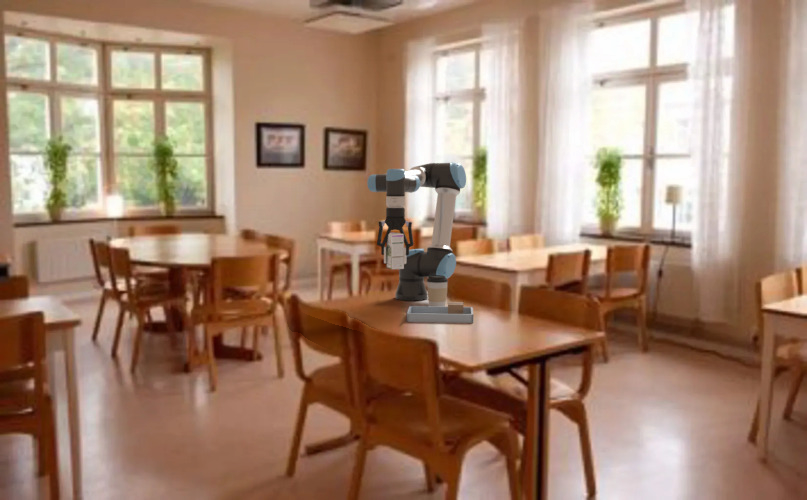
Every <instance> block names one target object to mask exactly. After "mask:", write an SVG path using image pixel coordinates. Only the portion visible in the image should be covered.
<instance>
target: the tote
mask: <svg viewBox="0 0 807 500" xmlns="http://www.w3.org/2000/svg"><path fill="white" fill-rule="evenodd" d="M406 322H407V323H446V324H448V323H453V324H457V323H458V324H474V307H473V306H463V314H448V306H445V307H442V306H429V305H428V306H427V305H425V306H424V305H409V307H408V309H407V311H406Z"/></svg>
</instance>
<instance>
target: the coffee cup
mask: <svg viewBox="0 0 807 500" xmlns="http://www.w3.org/2000/svg"><path fill="white" fill-rule="evenodd" d="M426 282H427V284H426V285H427V286H426V287H427V288H426V290H427V294H428V298H427V300H428V306H442V307H446V303H447V295H448V282H449V280H448V278H446V277H445V276H442V275H432V276H431V275H430V276H429V277H427V280H426Z"/></svg>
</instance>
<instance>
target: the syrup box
mask: <svg viewBox="0 0 807 500" xmlns="http://www.w3.org/2000/svg"><path fill="white" fill-rule="evenodd" d="M385 247H387V263H386V269H389V270H399V269H404V247H405V243H404V234H401V233H400V232H390V233H389V234H388V238H387V241H386V244H385Z"/></svg>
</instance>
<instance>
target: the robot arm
mask: <svg viewBox="0 0 807 500" xmlns="http://www.w3.org/2000/svg"><path fill="white" fill-rule="evenodd" d="M366 183H367V188H368V190H369V191H370V192H371V193H386V194H385V195H386V199H385V200H386V201H385V206H386V208H385V219H384V220H383V221H382V220H380V221H378V227H379V229H378V235H377V242H376V246H379V247H381V248H380V251H381V252H380V253H381V254H380V255H382V256H383V264H387V247H386V241H387V238H388V234H389V233H392V231H399V233H401V234H404V269H398V276H399V277H398V279H399V280H398V284H397V288H396V291H395V299H396V300H398V299H399V300H398V301H405V300H406V301H407V302H408V301H409V302H414V300H419V301H424V300H423V299H425V300H428V290H427V288H426V287H427V286H426V284H425V280H424V279H425V278H429V276H430V275H431V276H432V275H442V276H445V277H446V278H447V279H449V278H450V277H452V275H453V274H454V273H455V270H456V266H457V256H456V255H455V254H454V252H453V249H452V248H451V240H452V234H453V233H452V231H453V224H454V215H455V209H456V208H455V207H456V199H457V196H459V194H460V193H461V189H464V188H465V186H466V185H467V174H466V171H465V167H464V166H463V165H462V164H461V163H459V162H436V163H435V162H431V163H425V164H420V165H417V166H413V167H411V168H410V169H404V168H388V169H387V170H386V173H381V174H380V173H379V174H377V173H376V174H369V176H368V178H367V181H366ZM420 188H430V189H433V188H434V191H435V192H436V194H437V196H436V197H437V198H436V205H435V211H434V212H435V213H434V221H433V229H432V236H431V244H430V245H429V246H427V250H426V251H425V248H415V249H414V248H413V249H410V247H413V246H414V244H415V243H414V237H413V229H412V227H413V221H408V220H407V219H406V218H405V217H406V215H405V214H406V213H405V211H406V209H405V208H404V207H405V205H406V203H405V202H406V201H405V200H406V196H405V195H406V193H410V194H411V193H415V192H417V191H418V190H419V189H420ZM385 224H386V226H387V230H386V233H385V235H384V238H383V232H384V231H383V230H384V226H385ZM405 225H406V227H407V231H408V239H409V241H408V239H407V236H406V233H405V231H404V226H405ZM382 239H383V240H382Z"/></svg>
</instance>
